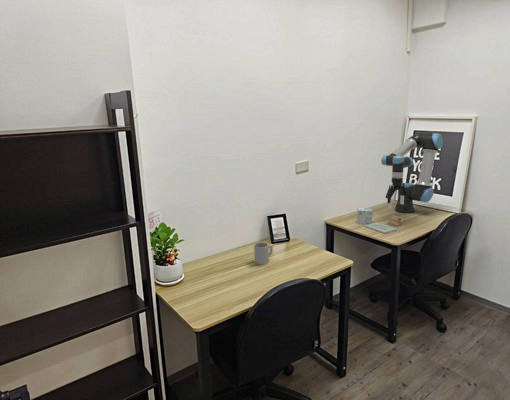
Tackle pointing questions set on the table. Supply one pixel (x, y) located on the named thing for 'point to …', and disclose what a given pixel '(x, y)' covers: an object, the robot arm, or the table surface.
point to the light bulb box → (364, 215)
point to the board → (380, 228)
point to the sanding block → (395, 220)
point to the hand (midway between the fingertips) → (395, 205)
